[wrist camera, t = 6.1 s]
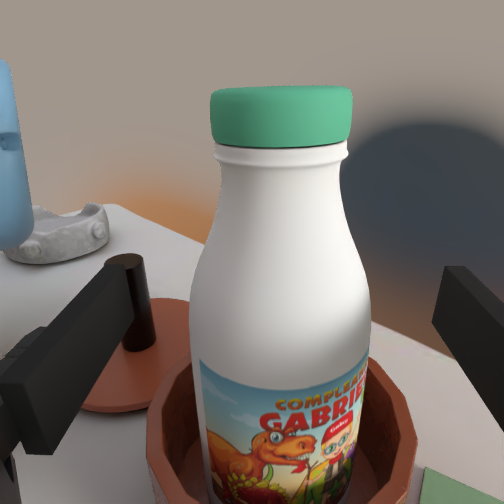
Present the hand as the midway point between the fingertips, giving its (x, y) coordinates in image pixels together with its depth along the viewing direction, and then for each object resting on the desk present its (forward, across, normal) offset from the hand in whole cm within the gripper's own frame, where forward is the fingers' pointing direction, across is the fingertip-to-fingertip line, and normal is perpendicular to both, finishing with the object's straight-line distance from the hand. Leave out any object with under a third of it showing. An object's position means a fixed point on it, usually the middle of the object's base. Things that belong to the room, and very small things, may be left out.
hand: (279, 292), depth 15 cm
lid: (+10, -11, -12) cm, 19 cm away
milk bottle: (0, 0, -12) cm, 12 cm away
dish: (+32, -31, -13) cm, 46 cm away
